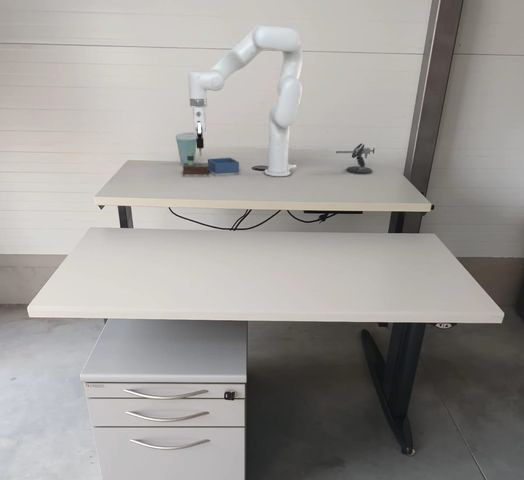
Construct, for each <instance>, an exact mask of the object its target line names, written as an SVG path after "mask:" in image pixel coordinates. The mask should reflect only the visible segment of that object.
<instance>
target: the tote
mask: <svg viewBox="0 0 524 480" xmlns="http://www.w3.org/2000/svg"><path fill="white" fill-rule="evenodd" d="M207 163H208V171H210V172H211V173H213V174H215V175H221V174H233V173H239V172H240V161H238V160H236V159H234V158H232V157H219V158H208V159H207Z"/></svg>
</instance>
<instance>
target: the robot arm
mask: <svg viewBox="0 0 524 480" xmlns="http://www.w3.org/2000/svg"><path fill="white" fill-rule="evenodd" d="M301 37H302V36H301V33H300V32H299V31H298V30H297V29H296V28H294V27H287V26H273V25H268V24H267V25H266V24H258V25H256V26H255V27H253V28H252V29H251V30H250V31H249V32H248V33H247V34H246V35H245V36H244V37H243V38H242V39H241V40H240V41H239V42H237V43H236V45H235V46H234V47H232V48H231V49H230V50H229V51H228V52H227V53H226V54H225V55H223V57H221V59H219V60H218V61H217V62H216V63H215V64H214V65H213V66H212V67H211V68H209V70H208V71H207V72H205V71H202V70H191V71H189V72H188V75H187V76H188V77H187V78H188V95H189V107H190V108H192V119H193V128H194V132H196V136H197V137H196V149H198V148H203V149H204V148H205V144H204V143H205V142H204V136H203V135H204V134H203V133H204V132H206V131H207V128H206V127H207V124H206V122H207V121H206V109H205V108H207V107H208V97H207V96H208V95H207V91H213V92H218V91H221V90H222V89H223V88H224V86H225V82H226V80H227V79H228V78H229V77H230V76H232V75H233V74H234V73H235V72H237V71H240V70H242V69H244V68H245V67H247V65H249V64H250V63H251V62H252V61H253V60H254V59H255V58H256V57H257V56H258V55H259V54H260V53H261V52H262V51H263V50H269V51H277V52H282V57H283V58H282V59H283V60H282V65H281V66H282V67H281V70H280V73H279V78H278V82H277V86H276V92H277V94H278V96H279V97H278V100H277V101H276V102H274V103H273V104H272V105H271V106H270V108H269V112H268V129H269V132H268V134H269V135H268V157H267V160H268V161H267V168H266V169H265V170H264V174H265V175H267V176H271V177H287V176H290V175H291V170H296V169H297V168H298V167H297V164H290V163H289V150H290V136H291V135H290V132H291V130H290V127H291V126H292V125H293V124H294V122H295V121H296V118H297V114H298V110H299V108H300V107H299V106H300V103H301V99H302V95H303V85H302V83H301V81H300V77H301V71H302V67H303V61H304V60H303V59H304V55H303V50H302V46H301V41H302V38H301Z"/></svg>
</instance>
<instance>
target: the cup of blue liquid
mask: <svg viewBox="0 0 524 480" xmlns="http://www.w3.org/2000/svg"><path fill="white" fill-rule="evenodd" d="M196 137H197V132H193V131H191V132H190V131H189V132H187V131H186V132H181V133H177V134H176V135H175V140H176V144H177V151H178V154H179V160H180V164H181V165H183V163H188V160H187V152H193V156H194V163H196V152H197V142H196Z"/></svg>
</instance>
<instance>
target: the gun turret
mask: <svg viewBox="0 0 524 480" xmlns="http://www.w3.org/2000/svg"><path fill="white" fill-rule="evenodd" d="M375 149H376V148H375V147H373V149H371V148H370V147H365V144H363V143H359V144H358V145H357V146H356V147H355V148H354V149H353V150H337V151H335V153H336V154H351V158H352V159H355V158H356V161H357V164H358V166H357V165H356V166H348V167H347V168H346V171H347V172H348V173H352V174H356V175H368V174H371V173H372V171H373V169H371V168H370V167H366V163H365V159H368V155H371V152H372V154H375ZM363 155H364V157H363ZM364 158H365V159H364Z"/></svg>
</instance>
